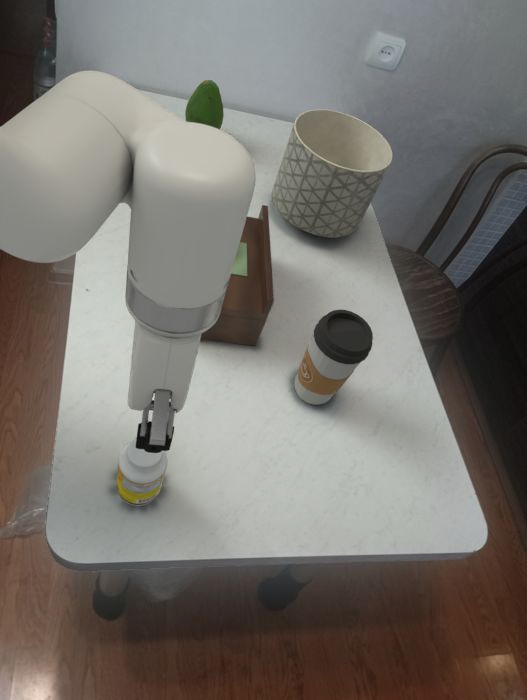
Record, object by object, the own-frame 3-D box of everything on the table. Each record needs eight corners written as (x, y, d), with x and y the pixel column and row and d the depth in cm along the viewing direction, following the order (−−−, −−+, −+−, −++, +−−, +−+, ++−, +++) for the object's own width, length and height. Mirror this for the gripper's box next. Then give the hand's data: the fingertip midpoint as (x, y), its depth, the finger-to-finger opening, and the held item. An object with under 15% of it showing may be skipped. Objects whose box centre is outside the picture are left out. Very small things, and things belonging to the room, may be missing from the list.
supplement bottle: (131, 458, 70) (137, 419, 62) (168, 479, 70) (179, 442, 62) (106, 493, 67) (109, 457, 59) (145, 515, 66) (153, 482, 58)
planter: (320, 181, 120) (351, 105, 106) (372, 238, 112) (412, 164, 99) (250, 194, 111) (274, 112, 97) (301, 257, 103) (335, 178, 89)
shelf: (168, 334, 84) (177, 286, 75) (177, 239, 97) (186, 189, 89) (255, 346, 87) (274, 301, 78) (252, 252, 100) (268, 205, 92)
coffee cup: (280, 369, 85) (310, 308, 74) (326, 364, 88) (362, 304, 77) (297, 415, 81) (332, 357, 69) (345, 408, 84) (386, 351, 73)
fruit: (191, 147, 115) (200, 94, 106) (176, 125, 119) (184, 72, 110) (224, 145, 119) (236, 93, 110) (209, 124, 122) (219, 72, 113)
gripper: (137, 208, 46) (127, 333, 59) (111, 375, 35) (107, 482, 48) (224, 223, 47) (195, 341, 61) (224, 387, 37) (190, 487, 50)
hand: (156, 403), depth 55 cm, fingers open, 9 cm apart
